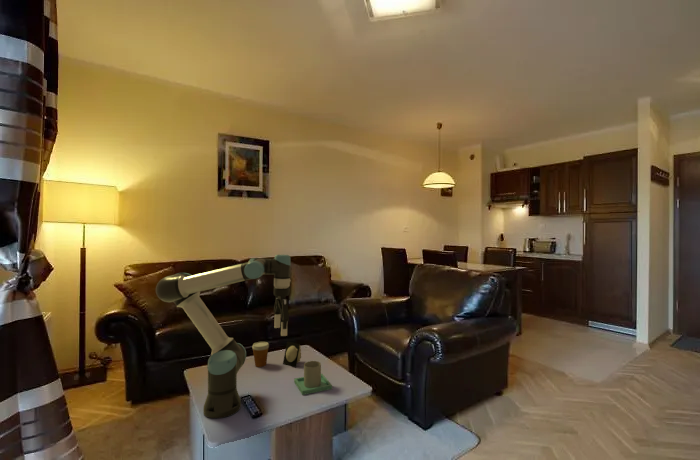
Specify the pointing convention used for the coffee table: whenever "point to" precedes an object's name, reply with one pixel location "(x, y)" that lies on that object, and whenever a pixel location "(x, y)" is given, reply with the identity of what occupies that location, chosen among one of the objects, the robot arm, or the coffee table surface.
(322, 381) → the tray
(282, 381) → the coffee table surface
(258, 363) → the disposable coffee cup
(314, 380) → the cup
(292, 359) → the decorative object
